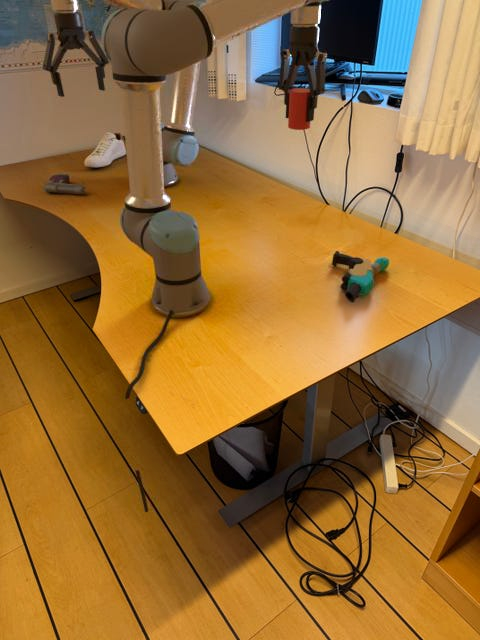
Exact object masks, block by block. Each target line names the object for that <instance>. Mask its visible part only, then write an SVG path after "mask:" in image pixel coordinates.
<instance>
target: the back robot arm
mask: <svg viewBox="0 0 480 640" xmlns="http://www.w3.org/2000/svg"><path fill="white" fill-rule="evenodd" d="M101 1H102V2H105V3H107V4H109V5H111V6H113V7H115V8H117V9H118V10H119V9H124V8H130V7H134V8H140V9H148V10H174V9H179V8H183V7H186V6H188V5H190V4H195V5H197V6H198V7H201V6H203V5H206V4H207V3H206V2H205V1H199V0H101ZM50 5H51V9H52V10H51V11H53V12H54V13H53V19H54V25H55V27H56V33H51V32H47V33H46V41H47V43H46V48H45V53H44V57H43V64H42V70H44V71H45V72H49V73H50V77H51V82H52V85H55V86H56V91H57V96H59V97H61V98H64V97H65V92H64V88H63V83H62V79H61V78H62V77H61V73H60V72H59V71H58V69H59V68H60V65H61V63H62V61H63V58H64V57H65V55H66V53H67V52H68V50H69V51H73V50H82V51H83V52H85V54H86V55H87V56H88V57H89V58H90V59H91V60H92V61H93V62H94V63H95V65H96V66H95V67H94V68H95V74H96V75H95V76H96V79H97V86H98V90H99V91H106V87H105V82H104V79H106V72H105V68H106V65H108V64H110V60H109V59H108V57H107V56H106V54H105V52H104V50H103V47H102V46H101V44H100V43H99V42H98V40H97V38H96V34H95V31H94V30H93V29H87V30H86V31H85V30H84V24H83V18H82V14H81V12H79V11H80V9H81V8H80V2H79V0H50ZM86 39H88V41H89V43H90V44H91V46H92V47H93V49H94V51H95V52H94V51H93V50H92V48H91V47H90V46H89V44H87V42H86V41H85V40H86ZM57 40H58V41H59V45H58V48H57V50H56V53H55V56H54V51H55V47H56V42H57ZM201 61H202V60H201ZM201 61H199V62H197V63H195V64H193V65H191V66H189V67H187V68H184V69H182V70H180V71H177V72H175V73H174V77H173V83H172V84H173V85H172V94H171V99H170V100H171V101H170V109H169V115H168V121H167V122H161V131H162V152H163V174H164V189H165V188H170V187H173V186H175V185H177V184H178V183H179V176H178V173H177V171H176V169H175V166H177V167H181V168H182V167H183V168H185V167H188V166H190V165H191V164H192V163H194V161H195V160H196V159H197V157H198V154H199V147H200V146H199V143H198V140H197V138H195V134H196V133H195V132H196V130H195V129H194V127H193V120H194V119H193V118H194V111H195V105H196V98H197V89H198V84H199V77H200V70H201V63H202V62H201ZM122 139H123V141H125V142H126V140H125V135H124V136H123V135H122Z"/></svg>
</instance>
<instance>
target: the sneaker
mask: <svg viewBox="0 0 480 640" xmlns="http://www.w3.org/2000/svg"><path fill="white" fill-rule="evenodd" d="M126 155H127V152H126V144H125V143H124V138H123V135H122V133H121V132H114V133H113V132H109V131H108V132H105V133H104V134H103V136H102V137H101V140H100V141H99V142H98V143H97V146H96V147H95V149H94V150H93V151H92V152H91V153H90V154H89V155H88V156H87V157H85V160H84V163H83V164H84V166H85V167H86V168H93V169H94V168H95V169H96V168H103V167H107V166H109V165H111V163H112V162H113V161H114V160H117V159H119V158H122V157H125V156H126Z"/></svg>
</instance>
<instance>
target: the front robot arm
mask: <svg viewBox="0 0 480 640" xmlns="http://www.w3.org/2000/svg"><path fill="white" fill-rule="evenodd" d="M329 1H330V0H213V1H210V2H208V3H206V5H203V6H201V7H198V6H197V5H195V4H190V5H188V6H186V7H183V8H179V9H174V10H148V9H140V8H134V7H130V8H124V9H119V8H118V9H116V10H115V11H113V12H112V13H110V14H109V15H108V17H107V19H106V20H105V21H104V23H103V26H102V30H101V34H100V35H101V47H102V50H103V52H104V54H105V55H106V57H107V59H108V60H109V62H110V63H111V72H112V81H113V82H114V83H115V84H116V85H117V86H118V87H119V88H120V94H121V104H122V115H123V128H124V137H125V140H126V141H125V140H124V141H125V149H126V161H127V162H126V163H127V172H128V183H129V186H128V187H129V193H128V194H127V195H126V196H125V197H124V207H123V208H122V209H121V212H120V215H119V219H120V220H119V224H120V227H121V231H122V232H123V234H124V235H125V236H126V237H127V238H128V240H129V241H130V242H131V243H133V244H134V245H136V246H137V247H138V248H140V249H141V250H142V251H143V252H144V253H146V255H148V256H149V257H151V258H152V260H153V261H152V262H153V268H154V274H155V275H154V276H155V281H154V284H153V290H152V294H151V305H152V308H153V310H154V311H155V312H156V313H157V314H159V315H160V316H163V317H166V318H165V321H164V323H163V326H162V328H161V330H160V332H159V334H158V336H157V337H156V338H155V339H154V340H153V341H152V343H150V345H149V346H148V347H147V348H146V349H145V351H144V353H143V355H142V357H141V360H140V361H141V362H140V366H139V371H138V373H137V375H136V377H135V378H134V379H133V380H132V381H131V382H130V384H129V385H128V386H127V389H126V391H125V395H124V396H125V397H124V399H125V400H128V399H129V398H130V397H131V392H132V390H133V388H134V386H135V385H136V384H137V383H138V382H139V381H140V379H141V378H142V376H143V374H144V370H145V366H146V360H147V357H148V355H149V353H150V352H151V350H152V349H153V348H154V347H155V346H156V345H157V344H158V343H159V341H160V340H161V339H162V338H163V336H164V334H165V333H166V330H167V328H168V325H169V323H170V320H171V319H183V318H185V319H186V318H190V317H194V316H196V315H199V314H201V313H202V312H204V311H205V310H207V308H208V307H209V306H210V303H211V294H210V293H211V292H210V290H209V288H208V286H207V284H206V281H205V278H204V277H203V275H202V262H201V261H202V259H201V247H200V246H201V243H200V240H201V236H200V230H199V226H198V222H197V220H196V218H194V217H193V216H192V215H190V214H189V213H187V212H184V211H178V210H174V209H173V210H172V200H171V197H170V195H168V193H166V191H165V188H164V174H163V152H162V131H161V123H162V110H161V92H160V90H161V88H162V87H163V86H164V84H165V83H166V82H167V76H169V75H172V74H175V72H177V71H180V70H182V69H184V68H187V67H189V66H191V65H193V64H195V63H197V62H199V61H203V60H205V59H208V58H209V57H211V56H212V55H213V53H214V51H215V50H214V49H215V48H217V47H219V46H221V45H223V44H226V43H229V42H231V41H232V40H234V39H236V38H238V37H239V38H240V37H241V36H243V35H246V34H247V33H249V32H252V31H254V30H256V29H258V28H260V27H262V26H264V25H267V24H269V23H270V22H273V21H275V20H277V19H279V18H281V17H284V16H286V15H288V14H289V13H290V24H291V25H292V26H291V27H290V29H289V30H290V32H289V42H290V46H289V47H288V49H282V50H280V52H279V54H280V69H279V80H278V90H280V91H282V92H283V93H284V94H283V95H284V96H283V97H284V98H283V99H284V100H283V104H284V106H285V119H288V117H289V95H290V90H291V89H294V85H295V82H296V79H297V75H298V73H299V69H300V68H301V66H302V67H303V69H304V71H305V73H306V79H307V83H308V89H310V95H309V97H308V102H307V117H306V122H310V123H311V122H312V121H315V120H314V118H315V109H317V108H318V98H319V96H321V95H324V94H325V92H326V62H327V58H328V53H327V52H321V51H319V48H318V43H319V37H320V27H319V26H318V25H319V24H320V23H321V9H322V3H323V2H329ZM290 59H291V61H290ZM315 60H316V64H315ZM315 69H316V70H315ZM134 471H135V475H136V476H135V477H136V479H137V483H138V487H139V493H140V495H141V499H142V503H143V508H144V513H148V512H149V508H148V502H147V497H146V493H145V490H144V489H145V488H144V484H143V480H142V475H141V471H140V470H139V469H138V470H136V469H135V470H134Z"/></svg>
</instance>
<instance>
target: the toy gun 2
mask: <svg viewBox="0 0 480 640" xmlns="http://www.w3.org/2000/svg"><path fill="white" fill-rule="evenodd" d="M331 265H332V266H334V267H335V266H337V265H342V266H347V267H348V271H347V272H345V273H344V274H343V276H342V277H341V282H342V283H341V284H340V289H341V290H342V291H344V292H345V293H344V296H345V298H346V299H347V300H348V302H350V303H354V302H355V301H356V300H357V299H358V298H359V297H360V295H361V296H366V295H367V294H369V293H370V292H371V291H372V289H373V288H374V286H375V279H374V276H376V275H377V274H378V273H379V272H384V271H385V270H386V269H388V268H389V265H390V259H389V258H388V257H386V256H385V257H384V256H380V257H378V258H376V259H375V260H374V263H373V262H372V260H370V259H368V258H362V257H358V256H357V257H353V256H351V255H348V254H345V253H342V252H341V253H340V251H339V250H336V251H335V252H334V254H333V255H332V262H331Z"/></svg>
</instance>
